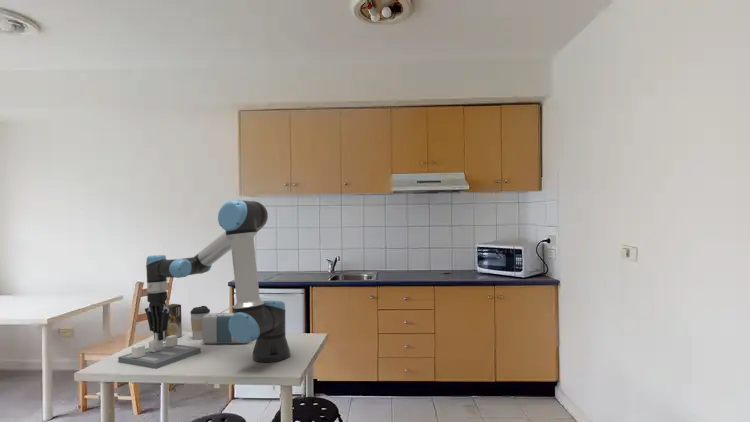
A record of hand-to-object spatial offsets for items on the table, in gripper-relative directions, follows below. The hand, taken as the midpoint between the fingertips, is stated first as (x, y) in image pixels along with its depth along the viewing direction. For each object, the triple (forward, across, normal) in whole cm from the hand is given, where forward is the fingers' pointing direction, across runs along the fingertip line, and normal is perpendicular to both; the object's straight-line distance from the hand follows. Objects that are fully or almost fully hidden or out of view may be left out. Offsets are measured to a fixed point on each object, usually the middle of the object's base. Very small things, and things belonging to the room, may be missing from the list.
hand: (158, 347), depth 181 cm
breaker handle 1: (+1, -2, -8) cm, 8 cm away
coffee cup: (+4, -7, +29) cm, 30 cm away
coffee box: (+3, -21, +23) cm, 31 cm away
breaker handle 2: (+1, -2, +8) cm, 8 cm away
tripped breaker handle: (+1, -2, 0) cm, 3 cm away
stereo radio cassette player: (+4, +12, +28) cm, 30 cm away
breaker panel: (+4, +1, 0) cm, 4 cm away
